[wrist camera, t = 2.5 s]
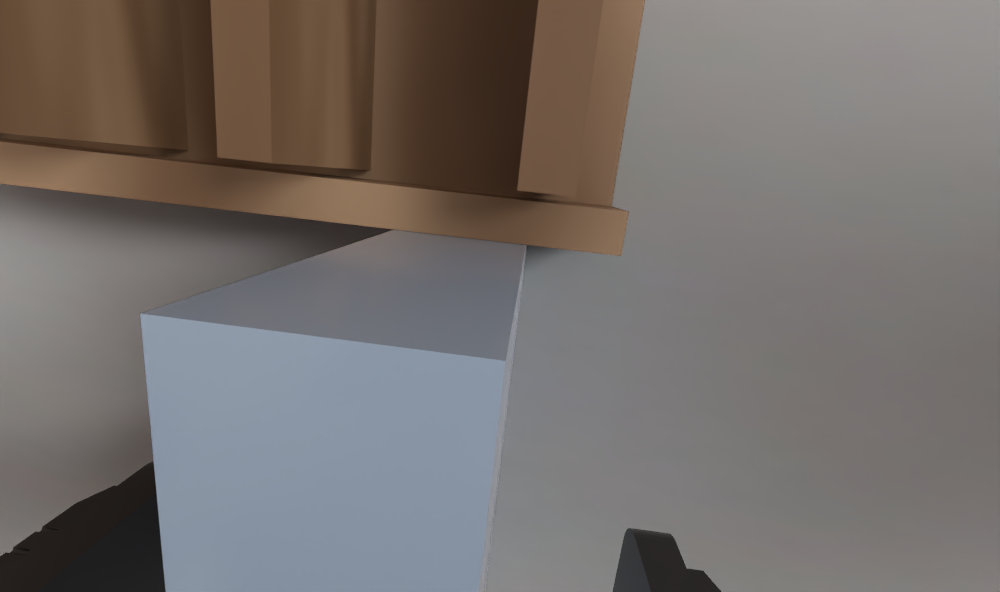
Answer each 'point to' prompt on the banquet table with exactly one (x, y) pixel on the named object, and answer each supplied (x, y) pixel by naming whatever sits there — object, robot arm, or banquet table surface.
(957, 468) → the banquet table surface
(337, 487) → the light blue flat block
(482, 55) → the rack
